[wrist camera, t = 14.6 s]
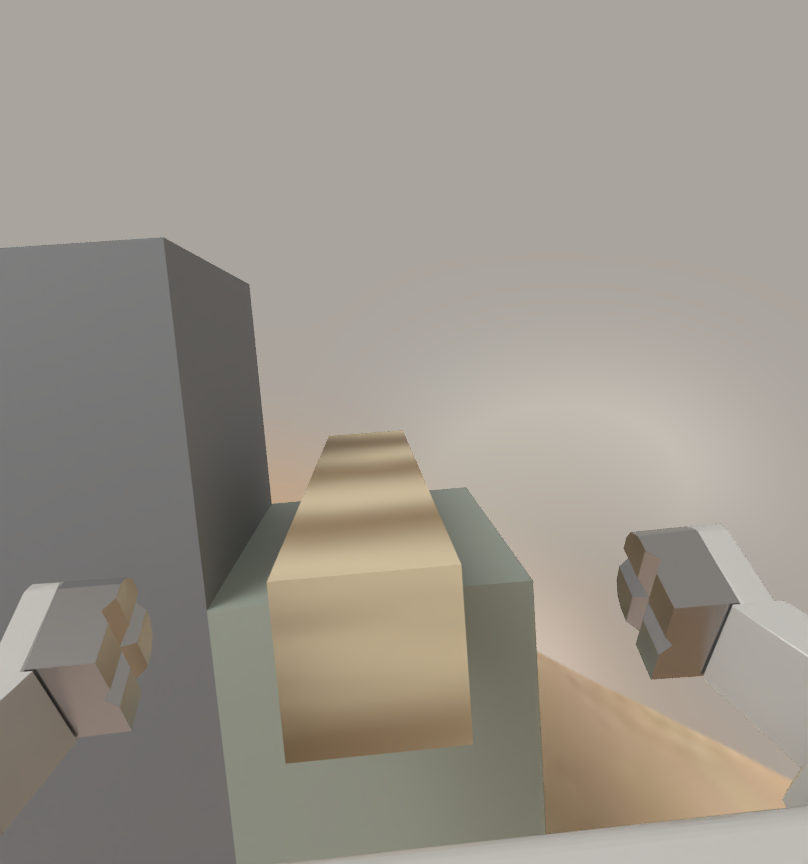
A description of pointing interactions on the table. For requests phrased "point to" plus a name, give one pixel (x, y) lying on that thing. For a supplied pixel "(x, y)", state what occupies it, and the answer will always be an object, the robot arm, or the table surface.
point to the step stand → (214, 585)
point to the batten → (369, 610)
